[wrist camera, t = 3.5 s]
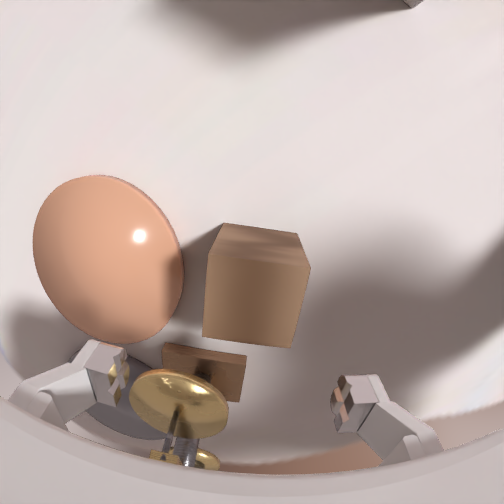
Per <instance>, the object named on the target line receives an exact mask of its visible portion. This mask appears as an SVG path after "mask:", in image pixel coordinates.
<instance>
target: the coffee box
mask: <svg viewBox="0 0 504 504" xmlns="http://www.w3.org/2000/svg"><path fill="white" fill-rule="evenodd" d="M403 1H404V2H405V3H406V4H408V5H409V6H410V7H411V8H414V7H416V6H417V5H418V4H419V3H421V2H422V1H423V0H403Z"/></svg>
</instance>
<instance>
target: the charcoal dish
mask: <svg viewBox="0 0 504 504" xmlns="http://www.w3.org/2000/svg"><path fill="white" fill-rule="evenodd" d="M80 351H81V350H79V351H77V352H76V353H75V354H74V355H73V356H72V357H71V359H70V360H69V361H68V363H72V361H73V360H74V359H75V357H76V356H77V355H78V353H79V352H80ZM125 361H126V362H127V363H128V365H129V379H128V383H127V385H126V387H125V388H123V389H121V394H122V396H121V398H120V400H119V402H118V404H117V407H114V406H110V405H107V404H103V403H100V402H97V403H95V404H94V405H92V406H91V407H89V408H88V409H86V410H85V411H86V412H88V413H89V414H90V415H91V416H92V417H94V418H95V419H96V420H98V421H99V422H101V423H102V424H104V425H105V426H107V427H109V428H111V429H113V430H115V431H117V432H120V433H122V434H125V435H128V436H131V437H135V438H140V439H147V440H158V439H164V438H166V436H167V434H166V433H164V432H161V431H159V430H157V429H155V428H154V427H152V426H150V425H149V424H147V423H146V422H145V421H143V420H142V419H141V418H140V417H139V416H138V415H137V414H136V412H135V411H134V410H133V408H132V406H131V404H130V401H129V392H130V389H131V387H132V385H133V383H134V381H135V380H136V378H137V377H138V376H139V375H141V374H142V373H144V372H146V371H150V370H153V369H151V368H150V367H148V366H147V365H145V364H143V363H142V362H140V361H138V360H136V359H134V358H132V357H130V356H128V355H127V358H126V360H125Z"/></svg>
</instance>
